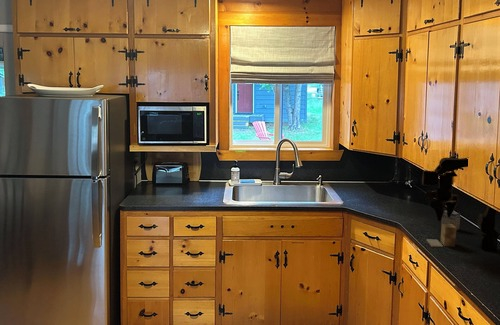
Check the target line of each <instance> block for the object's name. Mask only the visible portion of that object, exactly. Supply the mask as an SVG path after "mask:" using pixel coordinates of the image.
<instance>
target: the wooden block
mask: <svg viewBox="0 0 500 325" xmlns="http://www.w3.org/2000/svg"><path fill="white" fill-rule="evenodd" d="M456 238H457V230H456V227H455V226H454V225H453V224H442V227H441V226H440V241H439V242H440V243H441V244H443V245H444V246H443V247H456Z"/></svg>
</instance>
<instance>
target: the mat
mask: <svg viewBox="0 0 500 325" xmlns="http://www.w3.org/2000/svg"><path fill="white" fill-rule="evenodd" d="M426 243H428V244H429V245H430V246H431V248H444V246H443V245H442V243H441V242H440V241H439V240H438V239H430V238H429V239H428V238H426Z"/></svg>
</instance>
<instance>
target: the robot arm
mask: <svg viewBox="0 0 500 325" xmlns="http://www.w3.org/2000/svg"><path fill="white" fill-rule="evenodd" d="M467 158H468V157H463V158H462V157H461V158H458V157H457V158H456V157H442V158H441V159H440V160H439V162H438V165H437V166H436V168H435V169H434V170H422V175H421V185H422V186H432V187H433V186H434V187H435V186H436V185H437V184H438V187H436V190H431V189H430V190H426V191H425V198H427V200H430V201H429V207H431V208H432V209H433V210H434V211H435V214H436V218H437V221H438V222H442V217H443V214H444V211H447V216H448V217H450V216H451V214H452V213H453V212H454V211H455V209H456V207H457V205H458V204H459V202H460V201H461V197H460V195H459V194H455V193H454V194H453V191H455V188H454V187H453V181H454V180H453V178H454V177H456V178H457V177H458V174H457V173H456V172H455V171H457V170H459V169H462V168H467V167H468V159H467ZM468 168H469V167H468ZM431 199H432V200H431ZM497 211H498V210H497ZM497 211H496V210H494V209H492V208H490V207H489V206H488V205H487V207H486V209H485V212H483V213H479V215H478V219H477V221H476V222H477V226H478V229H479V230H480V231H481V236H480V237H479V238H480V239H479V245H478V247H479V248H480V249H482V250H483V251H493V252H494V251H495V252H499V249H498V240H499V236H500V233H499V232H498V231H497V230H496V229H495V228H496V227H495V226H496V216H497Z"/></svg>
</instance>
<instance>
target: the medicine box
mask: <svg viewBox="0 0 500 325" xmlns="http://www.w3.org/2000/svg"><path fill="white" fill-rule="evenodd" d="M440 222H441V223H440V224H441V225H440V228H441V227H442V224H453V225H454V226H455V227H456V231H458V230H460V225H461V223H460V222H461V213H460V212H454V211H453V213H452V214H451V216H450V217H448V216H447V210H445V211H444V214H443V217H442V220H441V221H440Z"/></svg>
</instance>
